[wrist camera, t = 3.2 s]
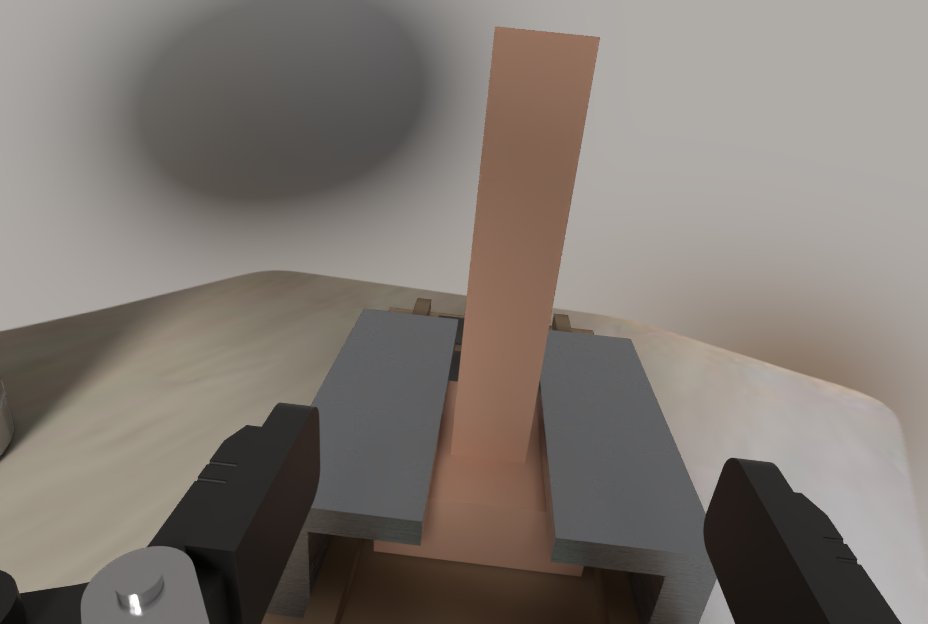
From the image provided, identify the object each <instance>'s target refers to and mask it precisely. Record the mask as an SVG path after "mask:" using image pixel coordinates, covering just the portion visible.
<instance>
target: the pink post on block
mask: <svg viewBox="0 0 928 624" xmlns="http://www.w3.org/2000/svg"><path fill="white" fill-rule="evenodd" d="M599 40H600V37H593V36H583V35H573V34H563V33H554V32H543V31H534V30H524V29H514V28H504V27H495V32H494V42H493V51H492V61H491V70H490V80H489V90H488V99H487V110H486V118H485V129H484V137H483V148H482V157H481V166H480V176H479V185H478V195H477V205H476V215H475V224H474V233H473V243H472V253H471V262H470V272H469V281H468V291H467V301H466V310H465V320H464V329H463V339H462V348H461V358H460V368H459V377H458V382H457V381H449V385H448V390H447V396H446V402H445V408H444V413H443V419H442V425H441V431H440V436H439V442H438V448H437V454H436V459H435V465H434V471H433V477H432V482H431V488H430V494H429V500H428V505H427V511H426V517H425V523H424V529H423V534H422V540H421V546H418V545H410V544H402V543H394V542H386V541H378V540H374V551H377V552H385V553H393V554H401V555H409V556H417V557H425V558H433V559H441V560H449V561H457V562H465V563H474V564H482V565H490V566H498V567H506V568H514V569H522V570H530V571H538V572H546V573H554V574H562V575H570V576H579V577H581V576H582V572H583V568H584V566H580V565H572V564H564V563H556V562H551V560H550V548H549V537H548V525H547V514H546V502H545V490H544V479H543V467H542V455H541V444H540V432H539V421H538V409H537V392H538V387H539V381H540V375H541V370H542V364H543V358H544V353H545V347H546V341H547V336H548V330H549V324H550V318H551V313H552V307H553V301H554V296H555V290H556V284H557V278H558V273H559V267H560V261H561V256H562V250H563V244H564V239H565V233H566V227H567V222H568V216H569V211H570V205H571V199H572V194H573V188H574V182H575V176H576V171H577V165H578V159H579V154H580V148H581V142H582V137H583V130H584V125H585V120H586V114H587V108H588V102H589V97H590V91H591V85H592V80H593V74H594V68H595V63H596V57H597V52H598V46H599Z"/></svg>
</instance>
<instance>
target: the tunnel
mask: <svg viewBox="0 0 928 624" xmlns="http://www.w3.org/2000/svg"><path fill="white" fill-rule="evenodd" d="M458 320H459V319H450V318H441V317H432V316H424V315H415V314H406V313H397V312H389V311H380V310H371V309H363V311H362V313H361V315H360V317H359V319H358V320H357V322H356V324H355V326H354V328H353V329H352V331H351V333H350V335H349V337H348V338H347V340H346V342H345V344H344V346H343V348H342V349H341V351H340V353H339V355H338V357H337V358H336V360H335V362H334V364H333V366H332V368H331V369H330V371H329V373H328V375H327V377H326V378H325V380H324V382H323V384H322V386H321V387H320V389H319V391H318V393H317V395H316V397H315V398H314V400H313V402H312V404H311V406H312V407H317V408H318V410H319V421H320V478H319V484H318V489H317V493H316V496H315V499H314V502H313V504H312V506H311V509H310V511H309V513H308V516H307V518H306V520H305V523H304V525H303V527H302V530H301V532H300V534H299V537H298V539H297V541H296V544H295V546H294V548H293V551H292V553H291V555H290V558H289V560H288V562H287V565H286V567H285V569H284V572H283V574H282V576H281V579H280V581H279V583H278V586H277V588H276V590H275V593H274V595H273V597H272V600H271V602H270V604H269V607H268V609H267V614H275V615H283V616H291V617H299V618H303V617H304V614H305V611H306V608H307V605H308V603H309V600H310V597H311V594H312V592H313V589H314V586H315V583H316V580H317V578H318V575H319V572H320V569H321V566H322V564H323V561H324V558H325V555H326V552H327V550H328V547H329V544H330V541H331V539H332V536H333V535H337V536H345V537H353V538H362V539H370V540H378V541H386V542H394V543H402V544H410V545H418V546H421V540H422V534H423V529H424V523H425V517H426V511H427V505H428V500H429V494H430V488H431V482H432V477H433V471H434V465H435V459H436V454H437V448H438V442H439V436H440V431H441V425H442V419H443V413H444V408H445V402H446V396H447V390H448V385H449V379H450V373H451V367H452V362H453V356H454V350H455V344H456V339H457V330H458ZM537 409H538V421H539V432H540V444H541V455H542V467H543V479H544V490H545V502H546V514H547V525H548V537H549V548H550V560H551V562H556V563H564V564H572V565H580V566H588V567H597V568H605V569H613V570H621V571H627V573H628V577H629V582H630V586H631V590H632V595H633V599H634V603H635V608H636V612H637V616H638V621H639V624H699V621H700V619H701V616H702V614H703V611H704V609H705V606H706V604H707V601H708V599H709V596H710V594H711V591H712V589H713V586H714V584H715V582H716V579H717V576H716V574H715V571H714V569H713V566H712V564H711V561H710V559H709V556H708V554H707V551H706V548H705V543H704V536H703V527H704V520H705V516H706V514H705V511H704V509H703V507H702V504H701V502H700V500H699V497H698V495H697V493H696V490H695V488H694V486H693V483H692V481H691V479H690V476H689V474H688V472H687V469H686V467H685V465H684V462H683V460H682V458H681V455H680V453H679V451H678V448H677V446H676V444H675V441H674V439H673V437H672V434H671V432H670V430H669V427H668V425H667V423H666V420H665V418H664V416H663V413H662V411H661V409H660V406H659V404H658V402H657V399H656V397H655V395H654V392H653V390H652V388H651V385H650V383H649V381H648V378H647V376H646V374H645V371H644V369H643V367H642V364H641V362H640V360H639V357H638V355H637V353H636V350H635V348H634V346H633V343H632V341H631V339H625V338H616V337H608V336H599V335H590V334H581V333H573V332H564V331H555V330H548V336H547V341H546V347H545V353H544V358H543V364H542V370H541V375H540V381H539V387H538V392H537Z"/></svg>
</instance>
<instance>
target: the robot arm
mask: <svg viewBox="0 0 928 624" xmlns="http://www.w3.org/2000/svg"><path fill="white" fill-rule="evenodd" d="M6 398H7V394H6V391H5V388H4V385H3V383H2V381H1V379H0V455H1V454H3V452H4V451H5V449H6V448H7V446H8V445H9V443H10V442H11V440H12V436H13V432H14V425H13V420H12V416H11V413H10V409H9V406H8V403H7V399H6ZM319 478H320V421H319V410H318V408H317V407H312V406H304V405H295V404H287V403H278V404H277V405H276V406H275V407H274V409H273V410H272V412H271V413H270V415H269V416H268V418H267V419H266V421H265V423H264V424H263V426H262V427H258V426H250V425H246V426H245V427H243V428H242V429H241V430H239V431H238V432H236V433H235V434H233V435H232V436H230V437H229V438H227V439H226V440H224V442H223V443H222V444H221V446H220V447H219V448H218V450H217V451H216V453H215V454H214V455H213V457H212V458H211V459H210V463H209V464H207V465H206V466H205V468H204V469H203V471H202V472H201V473H200V475H199V476H198V480H197V481H195V482H194V483H193V484H192V486H191V487H190V488H189V490H188V491H187V493H186V494H185V495H184V497H183V498H182V500H181V501H180V502H179V504H178V505H177V506H176V508H175V509H174V511H173V512H172V513H171V515H170V516H169V517H168V519H167V520H166V522H165V523H164V524H163V526H162V527H161V528H160V530H159V531H158V533H157V534H156V535H155V537H154V538H153V540H152V541H151V542H150V544H149V545H148V546H147V547H146V548H142V549H138V550H134V551H132V552H129V553H127V554H124V555H122V556H121V557H119V558H117V559H115V560H113V561H112V562H110V563H109V564H107V565H106V566H105V567H104V568H103V569H101V570H100V571H99V572H98V573H97V574H96V575H95V576H94V577H93V578H92V580H91V581H90V582H88V583H83V584H78V585H72V586H66V587H59V588H52V589H46V590H39V591H33V592H26V593H20V594H19V591H18V588H17V585H16V582H15V580H14V579H13V578H12V576H11V575H9V574H8V573H6V572H4V571H1V570H0V624H261V623H262V621H263V618H264V616H265V614H266V611H267V609H268V607H269V604H270V602H271V600H272V597H273V595H274V593H275V590H276V588H277V586H278V583H279V581H280V579H281V576H282V574H283V572H284V569H285V567H286V565H287V562H288V560H289V558H290V555H291V553H292V551H293V548H294V546H295V544H296V541H297V539H298V537H299V534H300V532H301V530H302V527H303V525H304V523H305V520H306V518H307V516H308V513H309V511H310V509H311V506H312V504H313V502H314V499H315V496H316V493H317V489H318V484H319ZM703 536H704V543H705V548H706V551H707V554H708V556H709V559H710V561H711V564H712V566H713V569H714V571H715V574H716V576H717V579H718V581H719V584H720V586H721V589H722V591H723V594H724V597H725V599H726V602H727V604H728V607H729V609H730V612H731V614H732V617H733V619H734V622H735V624H901V622H900V621H899V620H898V618H897V617H896V615H895V614H894V612H893V611H892V609H891V608H890V606H889V605H888V603H887V602H886V601H885V599H884V598H883V596H882V595H881V593H880V592H879V590H878V589H877V587H876V586H875V585H874V583H873V582H872V580H871V579H870V577H869V576H868V574H867V573H866V571H865V570H864V569H863V567H862V566H861V565H859V564H857V558H856V557H855V555H854V554H853V552H852V551H851V550H850V548H849V547H848V545H847V544H844V543H843V538H842V536H841V535H840V534H839V532H838V531H837V529H836V528H835V526H834V525H833V523H832V522H831V520H830V519H829V518H828V516H827V515H826V514H825V513H824V512H823V511H822V510H820V509H819V508H818V507H817V506H816V505H815V504H813V503H812V502H811V501H810V500H809V499H808V498H807V497H805V496H804V495H803V494H802V493H795V492H793V490H792V489H791V487H790V486H789V484H788V483H787V481H786V479H785V478H784V476H783V475H782V473H781V472H780V470H779V469H778V467H777V466H776V465H775V464H773V463H771V462H763V461H755V460H746V459H738V458H730V459H728V460H727V461H726V463H725V464H724V467H723V469H722V472H721V475H720V477H719V480H718V483H717V486H716V488H715V491H714V494H713V496H712V499H711V502H710V505H709V507H708V510H707V513H706V516H705V520H704V527H703Z"/></svg>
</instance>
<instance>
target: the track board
mask: <svg viewBox="0 0 928 624" xmlns="http://www.w3.org/2000/svg"><path fill="white" fill-rule="evenodd" d="M430 310H431V300H430V299H421V298H418V299H417V301H416V304H415V307H414V310H408V309H399V308H391V307H390V309H389V312H397V313H406V314H415V315H424V316H432V317H441V318H450V319H459V320H458V330H457V339H456V344H455V350H454V356H453V362H452V367H451V373H450V379H449V381H457V382H458V377H459V368H460V358H461V348H462V339H463V329H464V320H465V316H461V315H452V314H443V313H435V312H430ZM549 330H555V331H564V332H573V333H581V334H590V335H594V333H593V331H592V330H584V329H575V328H571V326H570V322H569V318H568V315H562V314H554V318H553V323H552V326H549ZM261 624H639V621H638V616H637V612H636V608H635V603H634V599H633V595H632V590H631V586H630V582H629V577H628V573H627V571H621V570H613V569H605V568H597V567H588V566H584V568H583V572H582V576H581V577H579V576H570V575H562V574H554V573H546V572H538V571H530V570H522V569H514V568H506V567H498V566H490V565H482V564H474V563H465V562H457V561H449V560H441V559H433V558H425V557H417V556H409V555H401V554H393V553H385V552H377V551H374V540H370V539H362V538H353V537H345V536H337V535H333V536H332V539H331V541H330V544H329V547H328V550H327V552H326V555H325V558H324V561H323V564H322V566H321V569H320V572H319V575H318V578H317V580H316V583H315V586H314V589H313V592H312V594H311V597H310V600H309V603H308V605H307V608H306V611H305V614H304V617H303V618H299V617H291V616H283V615H275V614H267V611H266V614H265V616H264V618H263V621H262V623H261Z"/></svg>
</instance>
